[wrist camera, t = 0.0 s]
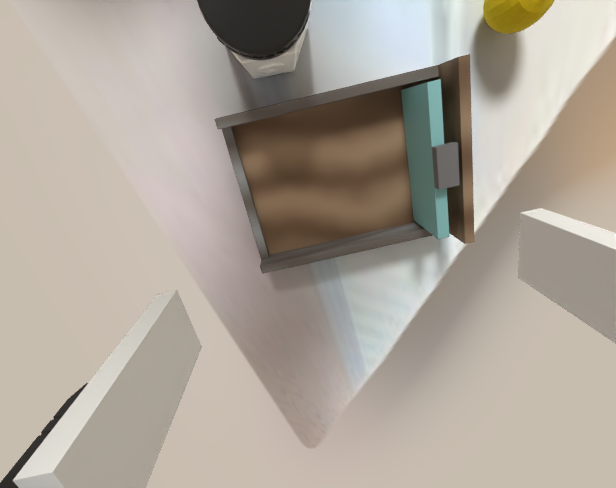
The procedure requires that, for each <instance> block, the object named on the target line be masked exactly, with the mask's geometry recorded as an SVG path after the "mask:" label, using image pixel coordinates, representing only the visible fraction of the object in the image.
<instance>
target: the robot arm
mask: <svg viewBox="0 0 616 488" xmlns="http://www.w3.org/2000/svg"><path fill="white" fill-rule="evenodd" d="M518 267H519V268H518V278H519V279H521V280H523V281H524V282H525V283H527V284H528V285H530V286H531V287H533V288H534V289H536V290H537V291H539V292H540V293H541V294H543V295H544V296H546V297H547V298H549V299H550V300H552V301H553V302H555V303H557V304H558V305H559V306H561V307H562V308H564V309H565V310H567V311H568V312H570V313H571V314H573V315H574V316H576V317H577V318H579V319H580V320H582V321H583V322H585V323H586V324H587V325H589V326H590V327H592V328H593V329H595V330H596V331H598V332H599V333H601V334H602V335H604V336H605V337H607V338H608V339H610V340H611V341H613V342H614V343H616V233H614V232H611V231H608V230H605V229H602V228H599V227H596V226H593V225H590V224H587V223H584V222H581V221H578V220H575V219H572V218H569V217H566V216H563V215H560V214H557V213H554V212H551V211H548V210H545V209H542V208H539V209H535V210H530V211H526V212H521V213H520V238H519V266H518ZM200 350H201V344H200V342H199V340H198V337H197V335H196V333H195V330H194V328H193V326H192V324H191V321H190V319H189V317H188V315H187V312H186V310H185V307H184V305H183V303H182V300H181V298H180V296H179V294H178V291H177V290H175V291H170V292H166V293H161V294H157V296H156V297H155V298H154V300H153V301H152V302H151V303H150V305H149V306H148V307H147V309H146V310H145V311H144V312H143V314H142V315H141V316H140V318H139V319H138V320H137V321H136V323H135V324H134V325H133V326H132V328H131V329H130V330H129V332H128V333H127V334H126V335H125V337H124V338H123V339H122V341H121V342H120V343H119V344H118V346H117V347H116V348H115V350H114V351H113V352H112V354H111V355H110V356H109V357H108V359H107V360H106V361H105V362H104V364H103V365H102V366H101V368H100V369H99V370H98V372H97V373H96V374H95V375H94V377H93V378H92V379H91V380H90V382H89V383H86V384H85V385H84V386H83V387H82V388H81V389H79V390H78V391H77V392H76V393H75V394H74V395H72V396H71V397H70V398H69V399H68V400H67V401H66V402H65V404H64V405H63V406H62V407H61V408H60V410H59V411H58V412H57V413H56V415H55V416H54V420H52V421H50V422H49V423H48V424H47V426H46V427H45V428H44V429H43V431H42V432H41V433H42V434H41V436H38V437H37V438H36V440H35V441H34V442H33V443H32V444H31V446H30V447H29V448H28V449H27V450H26V452H25V453H24V454H23V455H22V457H21V458H20V459H19V460H18V462H17V463H16V464H15V465H14V467H13V468H12V469H11V470H10V471H9V473H8V474H7V475H6V476H5V478H4V479H3V480H2V482H1V483H0V488H146V486H147V483H148V480H149V478H150V475H151V473H152V470H153V468H154V465H155V463H156V460H157V458H158V455H159V453H160V450H161V448H162V445H163V443H164V440H165V437H166V435H167V433H168V430H169V428H170V425H171V423H172V420H173V418H174V415H175V412H176V410H177V408H178V405H179V402H180V400H181V398H182V395H183V392H184V390H185V387H186V385H187V382H188V380H189V377H190V375H191V372H192V370H193V367H194V365H195V362H196V360H197V357H198V355H199V352H200Z"/></svg>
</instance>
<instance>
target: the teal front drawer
mask: <svg viewBox="0 0 616 488" xmlns="http://www.w3.org/2000/svg"><path fill="white" fill-rule="evenodd" d="M439 79H441V95H442V113H443V131H444V144H446V143H450V142H457V143H458V158H459V183H460V185H458V186H454V187H449V188H447V202H448V220H449V233H450V234H452V235H453V236H454V237H456V238H457V239H459V240H460V241H462V242H463V243H465V244H467V243H471V242H474V209H473V167H472V126H471V84H470V54H469V55H465V56H461V57H457V58H455V59H452V60H450V61H447V62H445V63H442V64H440V65H437V66H432V67H428V68H424V69H420V70H416V71H412V72H407V73H403V74H399V75H395V76H391V77H387V78H382V79H378V80H374V81H370V82H366V83H362V84H358V85H353V86H349V87H345V88H341V89H337V90H333V91H328V92H324V93H320V94H316V95H312V96H308V97H304V98H299V99H295V100H291V101H287V102H283V103H279V104H274V105H270V106H266V107H262V108H258V109H254V110H250V111H245V112H241V113H237V114H233V115H229V116H225V117H220V118H216V119H215V122H216V125H217V129H222V131H223V135H224V138H225V141H226V145H227V148H228V151H229V154H230V158H231V161H232V164H233V168H234V171H235V174H236V177H237V181H238V184H239V187H240V191H241V194H242V197H243V200H244V204H245V207H246V210H247V214H248V217H249V220H250V223H251V227H252V230H253V233H254V237H255V240H256V243H257V246H258V250H259V253H260V256H261V264H260V268H261V271H262V273H267V272H271V271H276V270H280V269H285V268H289V267H293V266H298V265H302V264H307V263H311V262H316V261H320V260H325V259H329V258H334V257H338V256H342V255H347V254H351V253H356V252H360V251H365V250H369V249H374V248H378V247H383V246H387V245H391V244H396V243H400V242H405V241H409V240H414V239H418V238H423V237H427V236H432V234H431V233H430V232H428V231H427V230H426V229H425V228H423V227H422V226H421V225H419V224H418V223H417V222H416V221H414V217H413V207H412V197H411V187H410V177H409V167H408V157H407V147H406V136H405V126H404V116H403V106H402V96H401V90H403V89H407V88H410V87H413V86H417V85H420V84H423V83H426V82H430V81H435V80H439Z"/></svg>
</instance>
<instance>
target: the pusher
mask: <svg viewBox="0 0 616 488" xmlns="http://www.w3.org/2000/svg"><path fill="white" fill-rule="evenodd" d="M401 96H402V106H403V116H404V126H405V136H406V147H407V157H408V167H409V177H410V187H411V197H412V207H413V217H414V221H416V222H417V223H418V224H419V225H421V226H422V227H423V228H425V229H426V230H427V231H428V232H430V233H431V234H432V235H434V236H435V237H436V238H437V239H441V238H445V237H449V220H448V202H447V188H449V187H454V186H458V185H460V183H459V158H458V143H457V142H450V143H446V144H444V131H443V113H442V95H441V79H439V80H435V81H430V82H426V83H423V84H420V85H417V86H413V87H410V88H407V89H403V90H401Z"/></svg>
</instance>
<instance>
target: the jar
mask: <svg viewBox="0 0 616 488" xmlns="http://www.w3.org/2000/svg"><path fill="white" fill-rule="evenodd" d="M197 1H198V4H199V7H200V10H201V14H202V16H203V17H204V19H205V20H206V22H207V24H208V25H209V27H210V28H211V30H212V31H213V32H214V33H215V35H216V36H217V39H218V40H219V41H220V42H221V43H222V44H223V45H225V46H226V47H227V48H228V49H229V50H230V51H231V52H232V53H233V54H234V55H235V57H236V58H237V59H238V60H239V62H240V63H241V64H242V65H243V67H244V68H245V69H246V70H247V72H248V73H249V74H250V75H251V76H252V78H254V79H255V78H260V77H266V76H271V75H276V74H281V73H286V72H292V71H294V70H295V67H296V64H297V61H298V58H299V54H300V51H301V48H302V45H303V41H304V38H305V35H306V32H307V28H308V24H309V19H310V13H311V8H312V3H313V0H197Z"/></svg>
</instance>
